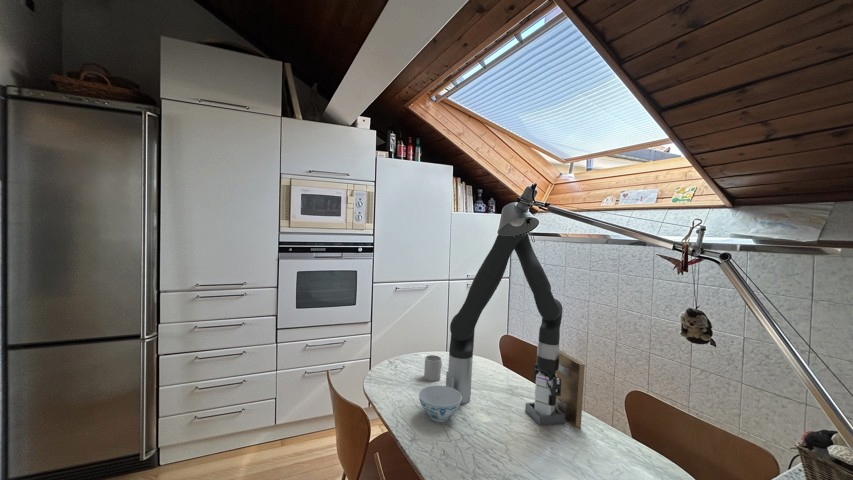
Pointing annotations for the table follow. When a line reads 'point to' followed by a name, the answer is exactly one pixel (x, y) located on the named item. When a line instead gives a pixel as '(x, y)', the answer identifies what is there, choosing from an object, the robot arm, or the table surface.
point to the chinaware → (440, 402)
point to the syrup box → (543, 396)
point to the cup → (432, 368)
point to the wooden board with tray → (565, 395)
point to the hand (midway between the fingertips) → (545, 399)
